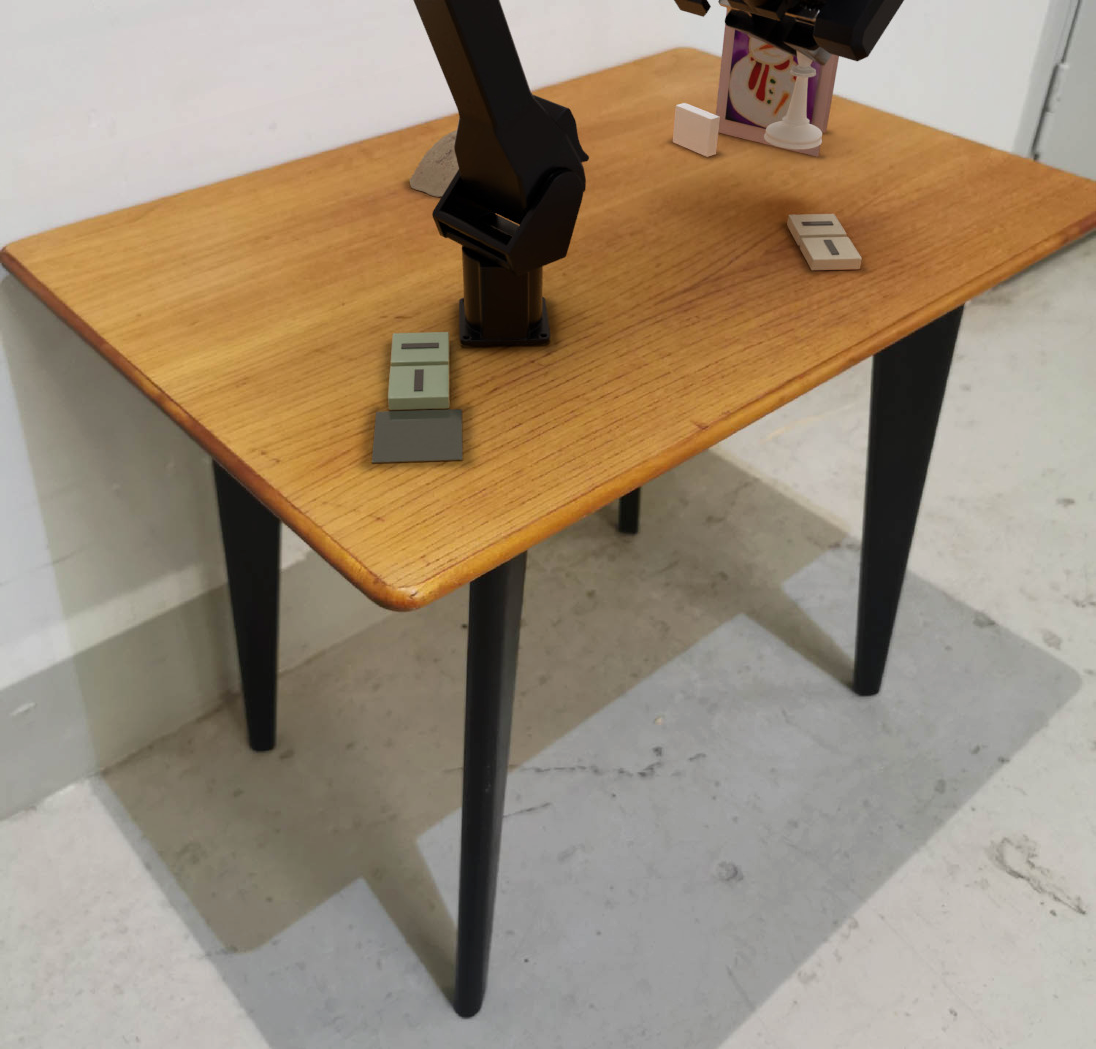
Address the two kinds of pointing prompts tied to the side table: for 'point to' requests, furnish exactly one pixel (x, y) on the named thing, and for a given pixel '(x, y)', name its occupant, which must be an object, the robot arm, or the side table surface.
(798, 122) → the chess piece
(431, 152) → the clay tablet
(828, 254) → the beige domino tile
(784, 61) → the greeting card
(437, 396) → the green and grey panel
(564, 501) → the side table surface
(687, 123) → the eraser
